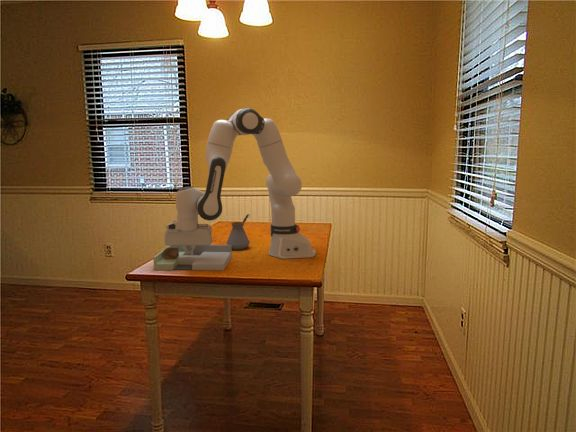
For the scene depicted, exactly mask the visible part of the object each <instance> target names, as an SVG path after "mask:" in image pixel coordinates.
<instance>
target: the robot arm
mask: <svg viewBox="0 0 576 432" xmlns="http://www.w3.org/2000/svg"><path fill="white" fill-rule="evenodd" d="M248 135H252V136H253V137H254V139H255V140H256V143H257V147H258V150H259V153H260V156H261V159H262V162H263V165H264V166H265V167H266V169H267V171H268V172H269V174H268V175H267V176H266V179H265V185H266V188H267V191H268V197H269V201H270V202H269V203H270V208H271V209H270V210H271V214H270V215H271V224H270V230H269V231H270V236H271V238H270V245H269V251H268V255H269V256H271V257H274V258H275V257H276V258H279V259H281V260H283V259H284V260H286V259H287V260H288V259H303V258H304V259H306V258H314V257H316V255H317V254H316V249H314V248H313V247H312V245H311V241H310V239H309V238H307V236H305V235H304V234H302V233H301V227H300V225H299V224H296V208H295V204H294V202H293V198H292V197H294V196H296V195H298V194H299V193H300V192H301V190H302V187H303V186H302V185H303V183H302V180H301V178H300V177H299V176H298V174H297V173H296V171H295V169H294V167H293V165H292V163H291V161H290V159H289V157H288V155H287V152H286V148H285V145H284V142H283V139H282V136H281V133H280V130H279V128H278V126H277V124H276V123H275V121H274V120H273V119H272V118H267V117H265V118H263V117H262V116H261V115H260V114H259V113H258V111H256V110H255V109H253V108H250V107H246V108H240V109H237V110H236V111H234V112H233V113H231V115H230V116H228V118H227V119H218V120H215V121H214V122H213V124H212V126H211V129H210V132H209V133H208V137H207V143H206V147H205V161H206V164H207V166H208V167H207V168H208V175H207V180H206V182H207V183H206V185H205V186H206V187H205V192H204V191H202V190H200V189H198V188H196V187H194V186H192V185H191V186H185V187H181V188H179V189H178V190H177V191H176V194H175V209H176V211H177V214H176V220H174V221H170V222H169V223H167V224H166V225H165V228H166V230H165V232H164V244H165V245H166V247H167V246H183V249H184V251H185V252H186V255H193V250H194V248H195V246H198V245H212V243H213V235H212V234H213V233H212V232H213V228H212V226H211V225H210V224H207V223H199V218H202V219H203V220H205V221H214V220H217V219H218V218H219V217H220V216H221V214H222V212H223V204H222V198H221V195H222V190H223V189H222V188H223V183H224V179H225V174H226V170H227V168H228V165H229V162H230V160H231V155H232V153H233V149H234V142H235V140H236V138H237V137H238V136H248ZM198 216H199V217H198ZM187 246H191V248H192V250H191V251H188V250H187V248H186V247H187Z"/></svg>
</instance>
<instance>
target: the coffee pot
mask: <svg viewBox="0 0 576 432" xmlns="http://www.w3.org/2000/svg"><path fill="white" fill-rule="evenodd" d="M248 218H251V215H250V214H249V213H248V214H246V215H245V217H244V218H243V220H242V221H235V222H231V223H230V225H232V226H231V227H232V228H231V231H230V233H229V236H228V238H227V241H226V245H231V249H232V251H233V250H234V251H239V250H241V251H242V250H245V249H247V248H248V246H249V245H250V240H249V238H248V235H247V233H246V231H245V229H244V225H245V222H246V221H247V219H248Z"/></svg>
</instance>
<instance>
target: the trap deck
mask: <svg viewBox="0 0 576 432" xmlns="http://www.w3.org/2000/svg"><path fill="white" fill-rule="evenodd" d="M167 247H179V256H178V257H177V258H176V259H164V250H165V249H166V248H167ZM186 248H187V250H188V251H191V250H192V248H191V246H187V247H186ZM232 251H233V250H232V249H231V245H227V244H210V245H198V246H195V248H194V250H193V255H186V252H185V251H184V249H183V246H167V245H166V247H165V248H163V249H162V250H161V251H159V252H158V253H157V254H155V255H154V256H153V257H152V259H153V260H152V261H153V271H224V270H225V269H226V266H227V265H228V264H229V261H230V260H231V258H232V256H233V255H232V254H233V253H232Z"/></svg>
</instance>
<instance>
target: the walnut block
mask: <svg viewBox="0 0 576 432" xmlns="http://www.w3.org/2000/svg"><path fill="white" fill-rule="evenodd" d="M166 247H167V246H166ZM166 247H165V248H166ZM165 248H164V249H165ZM178 256H179V247H167V248H166V249H165V250H164V259H176V258H177V257H178Z"/></svg>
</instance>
